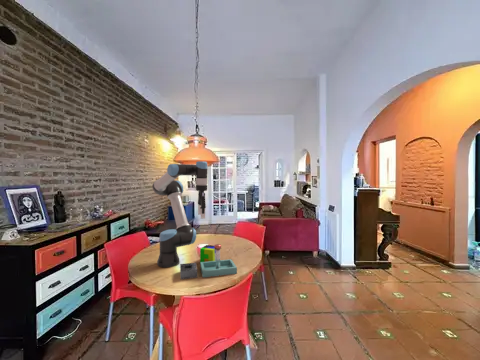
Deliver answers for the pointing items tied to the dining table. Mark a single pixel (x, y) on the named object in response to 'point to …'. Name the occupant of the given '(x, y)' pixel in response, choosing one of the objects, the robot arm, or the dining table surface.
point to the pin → (217, 255)
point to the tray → (225, 269)
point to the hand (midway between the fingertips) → (201, 216)
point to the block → (188, 270)
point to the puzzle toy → (207, 253)
